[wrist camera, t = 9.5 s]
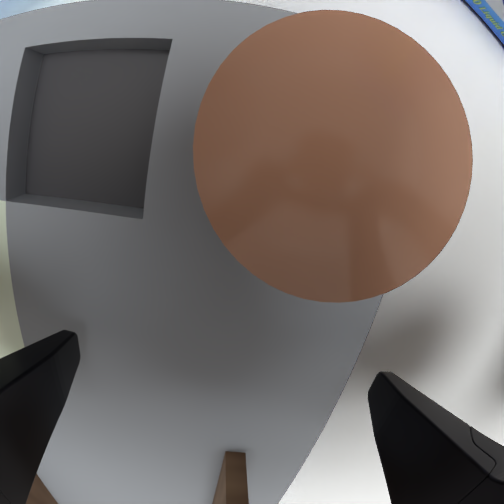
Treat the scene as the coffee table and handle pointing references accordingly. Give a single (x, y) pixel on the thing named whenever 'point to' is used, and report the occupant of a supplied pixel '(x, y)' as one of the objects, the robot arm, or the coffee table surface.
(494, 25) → the medicine box
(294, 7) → the coffee table surface
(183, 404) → the slate board
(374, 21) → the peach dome
